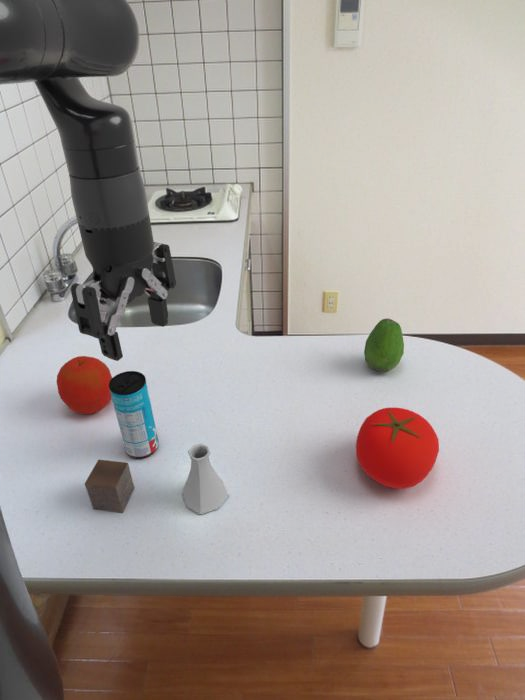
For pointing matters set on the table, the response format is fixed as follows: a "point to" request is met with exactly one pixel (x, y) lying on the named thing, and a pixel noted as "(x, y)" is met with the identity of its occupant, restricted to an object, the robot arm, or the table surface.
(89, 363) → the apple
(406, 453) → the tomato
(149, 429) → the beverage can
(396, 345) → the avocado
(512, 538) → the table surface
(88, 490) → the walnut block
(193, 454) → the flask
